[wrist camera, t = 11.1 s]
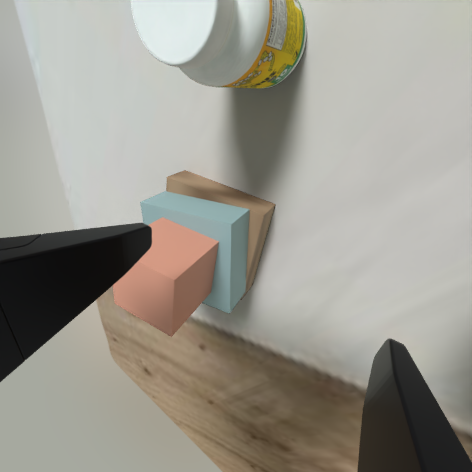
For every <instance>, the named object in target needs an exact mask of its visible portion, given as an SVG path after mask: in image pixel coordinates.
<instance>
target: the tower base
mask: <svg viewBox="0 0 472 472" xmlns="http://www.w3.org/2000/svg"><path fill="white" fill-rule="evenodd" d="M166 191H167V192H172V193H176V194H181V195H186V196H190V197H195V198H200V199H204V200H209V201H214V202H218V203H223V204H228V205H232V206H237V207H241V208H246V209H250V213H249V232H248V251H247V270H246V289H245V293H244V295H243V296H242V297H241V299H240V300H242V298H243V297H244V296H245V294H246V293H247V292H248V290H249V289H250V287H251V286H252V284H253V281H254V277H255V274H256V270H257V267H258V263H259V260H260V256H261V253H262V249H263V246H264V242H265V239H266V235H267V232H268V228H269V225H270V221H271V218H272V215H273V211H274V208H275V204H273V203H271V202H268V201H265V200H263V199H260V198H257V197H255V196H252V195H249V194H247V193H244V192H241V191H239V190H236V189H233V188H231V187H228V186H225V185H223V184H220V183H217V182H215V181H212V180H209V179H207V178H204V177H201V176H199V175H196V174H193V173H191V172H188V171H186V170H184V171H182V172H179V173H176V174H174V175H171V176H168V177H167V188H166Z"/></svg>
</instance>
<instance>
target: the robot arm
mask: <svg viewBox="0 0 472 472" xmlns="http://www.w3.org/2000/svg"><path fill="white" fill-rule="evenodd" d="M151 246H152V228H151V227H150V226H149V225H147V224H144V223H134V224H126V225H117V226H108V227H99V228H90V229H81V230H73V231H64V232H55V233H46V234H42V235H41V234H37V235H29V236H19V237H7V238H0V382H1V381H2V380H3V379H4V378H6V377H7V376H8V375H9V374H10V373H11V372H13V371H14V370H15V369H16V368H17V367H18V366H19V365H21V364H22V363H23V362H24V361H25V360H26V359H27V358H28V357H30V356H31V355H32V354H33V353H34V352H36V351H37V350H38V349H39V348H40V347H41V346H43V345H44V344H45V343H46V342H47V341H48V340H50V339H51V338H52V337H53V336H54V335H55V334H57V333H58V332H59V331H60V330H61V329H62V328H64V327H65V326H66V325H67V324H68V323H69V322H71V321H72V320H73V319H74V318H75V317H76V316H78V315H79V314H80V313H81V312H82V311H83V310H85V309H86V308H87V307H88V306H89V305H90V304H92V303H93V302H94V301H95V300H96V299H97V298H99V297H100V296H101V295H102V294H103V293H104V292H106V291H107V290H108V289H109V288H110V287H111V286H113V285H114V284H115V283H116V282H117V281H118V280H120V279H121V278H122V277H123V276H124V275H125V274H126V273H127V272H128V271H129V270H130V269H131V268H132V267H133V266H134V265H135V264H136V263H137V262H138V261H139V260H140V259H141V258H142V256H143V255H144V254H145V253H146V252H147V251H148V250H149V249H150V248H151ZM358 472H472V462H471V460H470V458H469V457H468V455H467V453H466V451H465V450H464V448H463V446H462V444H461V443H460V441H459V439H458V437H457V436H456V434H455V432H454V431H453V429H452V427H451V425H450V424H449V422H448V420H447V418H446V417H445V415H444V413H443V411H442V410H441V408H440V406H439V404H438V403H437V401H436V399H435V397H434V396H433V394H432V392H431V390H430V389H429V387H428V385H427V383H426V382H425V380H424V378H423V377H422V375H421V373H420V371H419V370H418V368H417V366H416V364H415V363H414V361H413V359H412V357H411V356H410V354H409V352H408V350H407V349H406V347H405V346H404V345H403V344H402V343H400V342H397V341H395V340H393V339H387V340H386V341H385V343H384V344H383V345H382V347H381V348H380V350H379V351H378V352H377V354H376V355H375V357H374V360H373V364H372V369H371V374H370V378H369V383H368V387H367V392H366V397H365V401H364V407H363V414H362V425H361V436H360V448H359V460H358Z"/></svg>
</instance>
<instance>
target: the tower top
mask: <svg viewBox="0 0 472 472" xmlns="http://www.w3.org/2000/svg"><path fill="white" fill-rule="evenodd" d="M140 203H141V210H142V216H143V223H144V224H147V225H149V224H151V223H153V222H155V221H156V220H158V219H160V218H162V217H163V218H166V219H168V220H170V221H173V222H175V223H177V224H179V225H182V226H184V227H186V228H189V229H191V230H193V231H196V232H198V233H200V234H203V235H205V236H207V237H210V238H212V239H214V240H217V241H219V244H218V250H217V257H216V263H215V270H214V276H213V282H212V289H211V293H210V294H209V295H208V296H207V297H206V299H205V300H204V301H203V302H202V303H204V304H206V305H209V306H211V307H214V308H217V309H219V310H222V311H224V312H227V313H229V314H230V312H231V311H232V310H233V308H234V307H235V306H236V304H237V303H238V301H239V300H240V299H241V297H242V296H243V295H244V293H245V289H246V270H247V251H248V232H249V213H250V209H246V208H241V207H237V206H232V205H228V204H223V203H218V202H214V201H209V200H204V199H200V198H195V197H190V196H186V195H181V194H176V193H172V192H167V191H165V192H163V193H160V194H158V195H156V196H153V197H151V198H149V199H146V200H144V201H142V202H140Z"/></svg>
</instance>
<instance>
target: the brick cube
mask: <svg viewBox="0 0 472 472" xmlns="http://www.w3.org/2000/svg"><path fill="white" fill-rule="evenodd" d="M149 226H150V227H151V228H152V246H151V248H150V249H149V250H148V251H147V252H146V253H145V254H144V255H143V256H142V258H141V259H140V260H139V261H138V262H137V263H136V264H135V265H134V266H133V267H132V268H131V269H130V270H129V271H128V272H127V273H126V274H125V275H124V276H123V277H122V278H121V279H120V280H118V281H117V282H116V283H115V284H114V285H113V291H114V300H115V304H117V305H118V306H120V307H122V308H124V309H125V310H127V311H129V312H130V313H132V314H134V315H135V316H137V317H139V318H140V319H142V320H144V321H145V322H147V323H149V324H150V325H152V326H154V327H156V328H157V329H159V330H161V331H162V332H164V333H166V334H167V335H169V336H171V337H172V336H173V335H174V333H175V332H176V331H177V330H178V329H179V328H180V327H181V326H182V324H183V323H184V322H185V321H186V320H187V319H188V318H189V317H190V315H191V314H192V313H193V312H194V311H195V310H196V309H197V308H198V306H199V305H200V304H201V303H202V302H203V301H204V300H205V299H206V297H207V296H208V295H209V294H210V293H211V289H212V282H213V276H214V270H215V263H216V257H217V250H218V244H219V241H217V240H214V239H212V238H210V237H207V236H205V235H203V234H200V233H198V232H196V231H193V230H191V229H189V228H186V227H184V226H182V225H179V224H177V223H175V222H173V221H170V220H168V219H166V218H163V217H162V218H160V219H158V220H156V221H155V222H153V223H151V224H149Z"/></svg>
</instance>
